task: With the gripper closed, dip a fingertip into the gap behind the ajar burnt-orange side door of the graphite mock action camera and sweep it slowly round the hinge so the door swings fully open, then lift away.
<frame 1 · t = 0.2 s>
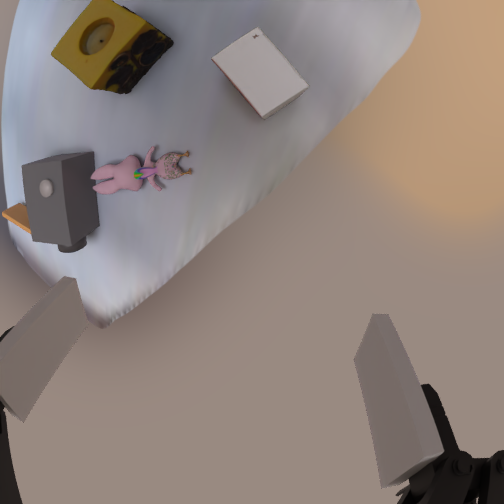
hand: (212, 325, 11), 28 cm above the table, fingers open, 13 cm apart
small box: (262, 85, 31), on the table
pink creature figurine: (143, 169, 37), on the table
camera body: (75, 189, 38), on the table
candle: (130, 51, 29), on the table
side door: (27, 221, 37), point 4 cm above the table, hinge at 70.0°
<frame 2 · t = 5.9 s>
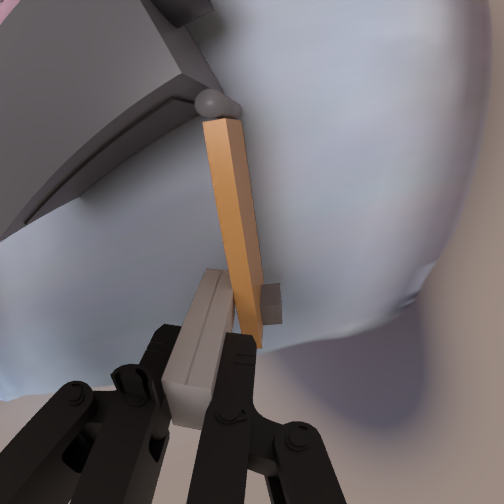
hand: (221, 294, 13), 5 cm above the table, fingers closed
pink creature figurine: (32, 8, 10), on the table
camera body: (109, 92, 13), on the table
side door: (250, 218, 13), point 4 cm above the table, hinge at 71.3°, touching gripper
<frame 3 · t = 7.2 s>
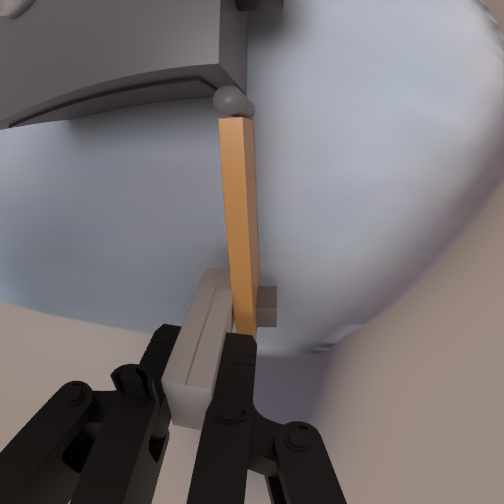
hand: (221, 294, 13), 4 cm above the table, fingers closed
camera body: (144, 35, 12), on the table
side door: (254, 219, 13), point 4 cm above the table, hinge at 93.1°, touching gripper
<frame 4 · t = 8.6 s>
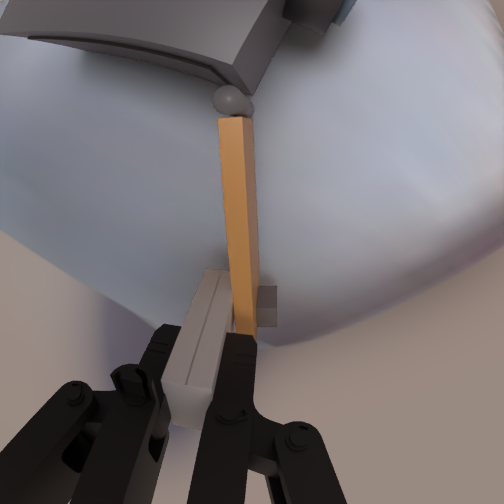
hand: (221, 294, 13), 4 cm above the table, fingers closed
camera body: (189, 0, 11), on the table
side door: (254, 219, 12), point 4 cm above the table, hinge at 117.3°, touching gripper
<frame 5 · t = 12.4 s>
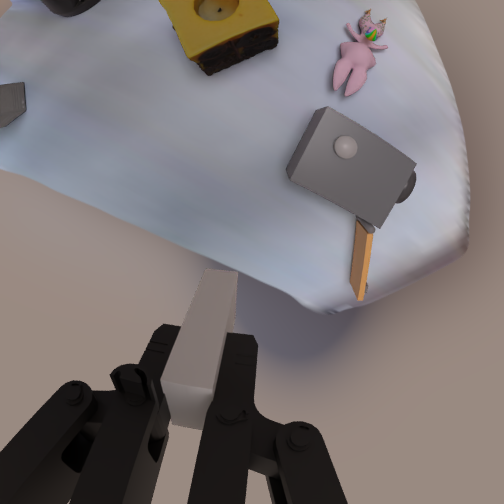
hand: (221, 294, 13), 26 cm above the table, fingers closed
pink creature figurine: (356, 53, 28), on the table
camera body: (340, 160, 35), on the table
candle: (228, 33, 28), on the table
skincare box: (14, 106, 32), on the table
side door: (364, 257, 37), point 4 cm above the table, hinge at 117.4°
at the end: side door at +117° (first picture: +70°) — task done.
